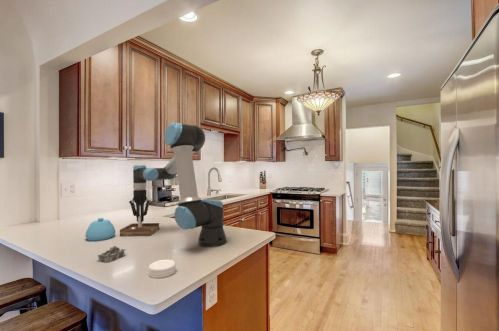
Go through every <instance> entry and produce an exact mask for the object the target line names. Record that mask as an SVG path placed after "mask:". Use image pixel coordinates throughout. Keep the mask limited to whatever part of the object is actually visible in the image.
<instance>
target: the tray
mask: <svg viewBox="0 0 499 331" xmlns="http://www.w3.org/2000/svg"><path fill="white" fill-rule="evenodd" d="M132 227H136V229H131V228H132ZM159 230H160V222H153V223H151V222H148V223H143V222H142V227H138V222H136V223H130V224H128V225H125V226H124V227H122V228H121V229H119V237H150V236H152V235H154V234H155V233H156V232H157V231H159Z"/></svg>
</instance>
